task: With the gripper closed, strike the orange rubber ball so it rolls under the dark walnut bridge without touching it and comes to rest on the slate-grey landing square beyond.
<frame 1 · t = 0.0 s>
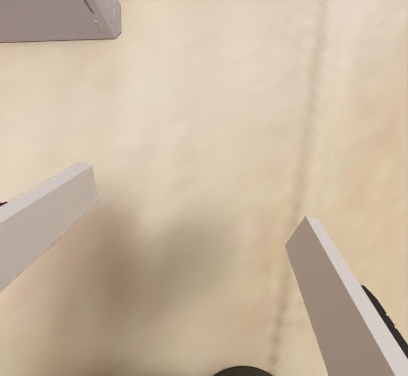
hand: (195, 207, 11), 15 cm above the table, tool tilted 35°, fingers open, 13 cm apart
game console: (37, 27, 28), on the table
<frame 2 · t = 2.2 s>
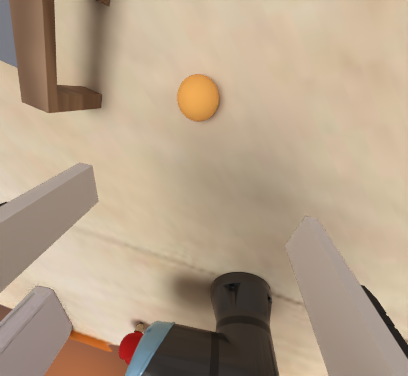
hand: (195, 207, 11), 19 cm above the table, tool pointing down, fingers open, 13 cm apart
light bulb: (141, 322, 61), on the table
ball: (198, 99, 23), on the table
bridge: (94, 50, 24), on the table
game console: (58, 308, 63), on the table
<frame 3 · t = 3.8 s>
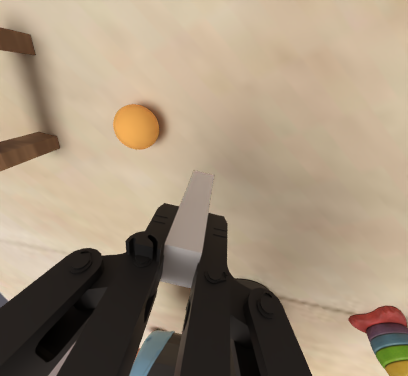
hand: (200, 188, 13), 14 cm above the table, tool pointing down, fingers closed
stacking bear: (377, 317, 43), on the table
ball: (137, 127, 22), on the table
bridge: (37, 97, 25), on the table
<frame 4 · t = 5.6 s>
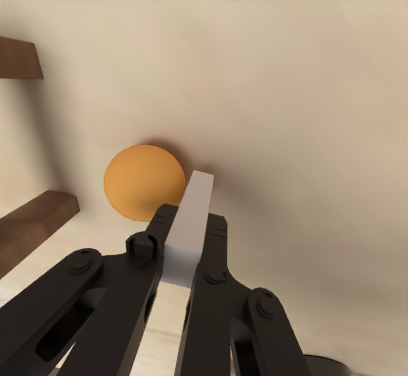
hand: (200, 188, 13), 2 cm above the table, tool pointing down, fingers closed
ball: (147, 183, 13), on the table
bridge: (46, 144, 15), on the table
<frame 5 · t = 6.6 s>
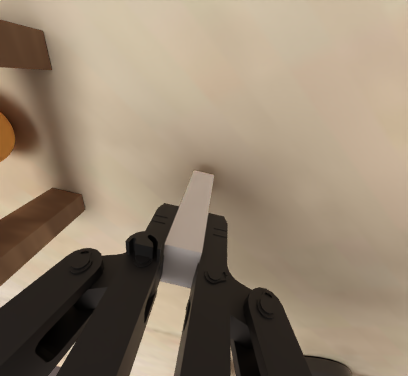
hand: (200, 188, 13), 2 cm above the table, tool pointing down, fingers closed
bridge: (52, 140, 14), on the table
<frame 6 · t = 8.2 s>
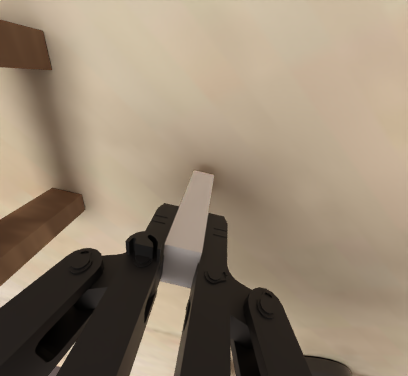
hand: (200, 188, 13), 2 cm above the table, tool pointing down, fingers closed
bridge: (52, 140, 14), on the table
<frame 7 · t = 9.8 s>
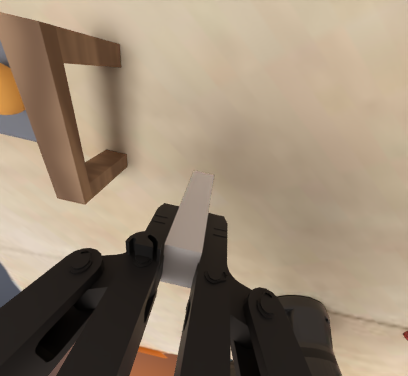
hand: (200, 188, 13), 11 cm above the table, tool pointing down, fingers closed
bridge: (112, 113, 22), on the table
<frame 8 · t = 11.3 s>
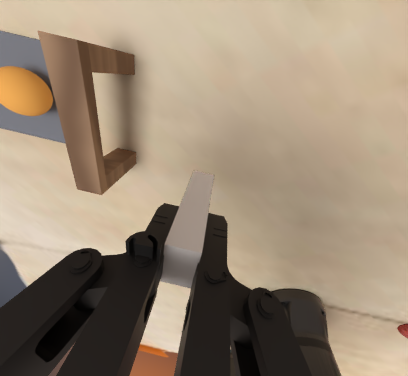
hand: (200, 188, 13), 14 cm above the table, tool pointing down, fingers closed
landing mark: (22, 91, 24), on the table
ball: (23, 92, 22), on the table
bridge: (125, 115, 24), on the table
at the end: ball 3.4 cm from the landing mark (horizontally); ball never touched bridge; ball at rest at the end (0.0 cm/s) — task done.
